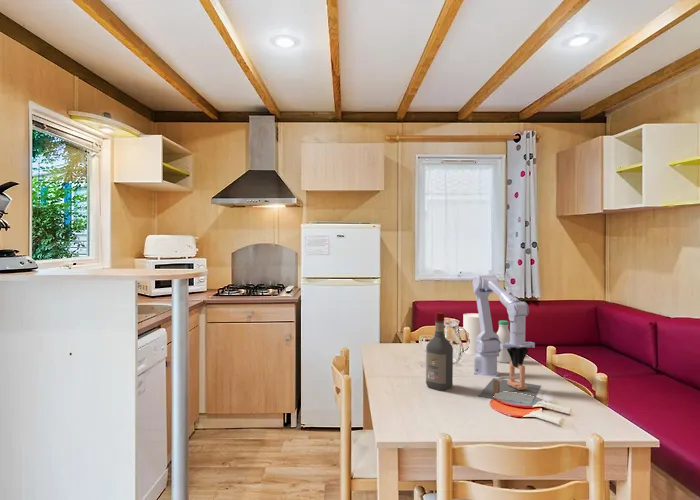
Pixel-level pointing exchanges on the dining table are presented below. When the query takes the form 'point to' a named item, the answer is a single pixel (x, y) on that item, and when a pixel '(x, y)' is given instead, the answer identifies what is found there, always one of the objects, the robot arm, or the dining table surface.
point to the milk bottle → (503, 341)
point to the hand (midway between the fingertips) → (517, 366)
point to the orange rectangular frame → (520, 384)
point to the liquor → (439, 358)
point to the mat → (508, 389)
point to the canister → (472, 330)
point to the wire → (497, 382)
